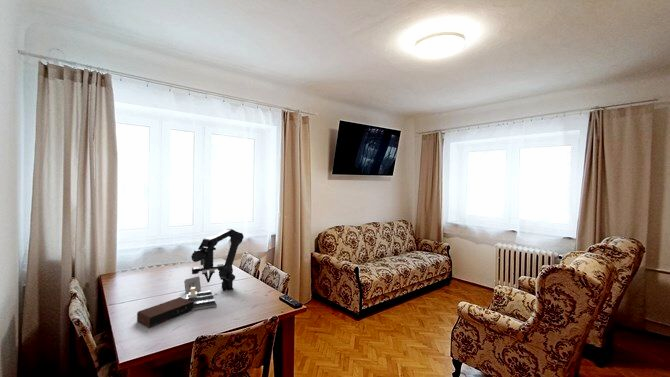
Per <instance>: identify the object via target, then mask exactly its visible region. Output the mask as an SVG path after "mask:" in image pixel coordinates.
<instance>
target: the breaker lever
mask: <svg viewBox="0 0 670 377" xmlns="http://www.w3.org/2000/svg"><path fill="white" fill-rule="evenodd" d="M197 292H198V291H195V287H191V292H189V298H191V297H197Z"/></svg>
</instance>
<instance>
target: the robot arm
mask: <svg viewBox="0 0 670 377" xmlns="http://www.w3.org/2000/svg"><path fill="white" fill-rule="evenodd" d="M228 237H229V238H230V239H229V240H230V246H229V250H228V253H227V255H226V259H225V262H224V264H223V263H221V264H216V266H214V251H216V250H217V248H216V247H215V246H217V244H218V243H219V242H221V241H223V240H224V239H226V238H228ZM243 239H244V234H243V233H242V232H239V231H237V230H235V229H232V228H227V229H225V230H223V231H221V232H219V233H217V234H215V235H213V236H207V237H204V238H203V239H202V241H201V243H200V245H199V247H198V249H197V250H196V249H195V250H194V251H193V253H192V254H191V257H190V258H191V260H192V262H194V263H197V262H200V266H202V267H199V266H194V267H191V275H196V274H198V275H199V273H200V272H201V274H202V275H204V277H205V279H206V282H207V283H210V281H211V278H212V276H213V274H215V273H216V272H215V271H216V270H218V276H219V279H220V280H222V281H221V290H222V291H231V290H234V287H233V283H234V282H233V281H235V280H236V275H235V274H233V273H234V269H233V264H234V260H235V258H236V254H237V250H238V248H239V245H240V244H242V242H243ZM208 272H209V273H208Z"/></svg>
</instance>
